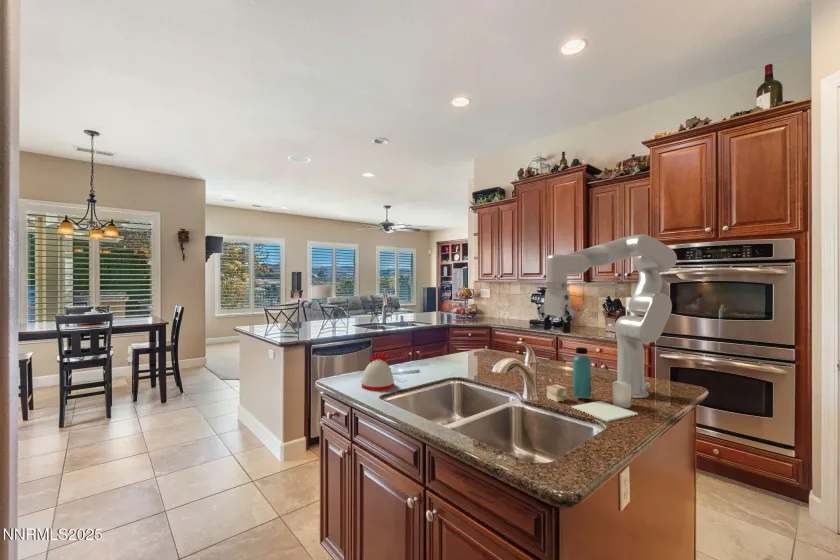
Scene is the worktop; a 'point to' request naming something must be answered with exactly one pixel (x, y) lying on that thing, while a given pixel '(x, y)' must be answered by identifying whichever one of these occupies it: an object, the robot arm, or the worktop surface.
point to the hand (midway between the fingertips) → (556, 331)
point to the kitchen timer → (377, 374)
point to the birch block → (556, 393)
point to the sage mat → (605, 411)
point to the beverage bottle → (581, 374)
